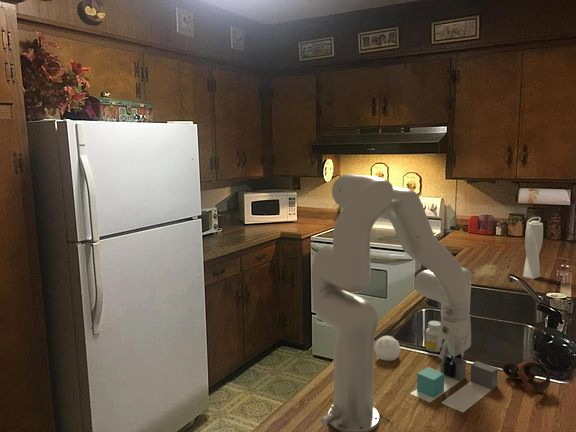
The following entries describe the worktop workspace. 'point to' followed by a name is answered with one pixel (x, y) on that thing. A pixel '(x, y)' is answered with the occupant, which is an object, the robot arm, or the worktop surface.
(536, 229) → the skyscraper
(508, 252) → the worktop surface
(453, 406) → the empty strip
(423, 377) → the cube
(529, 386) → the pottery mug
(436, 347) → the supplement bottle
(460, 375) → the strip with cube
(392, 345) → the ball
